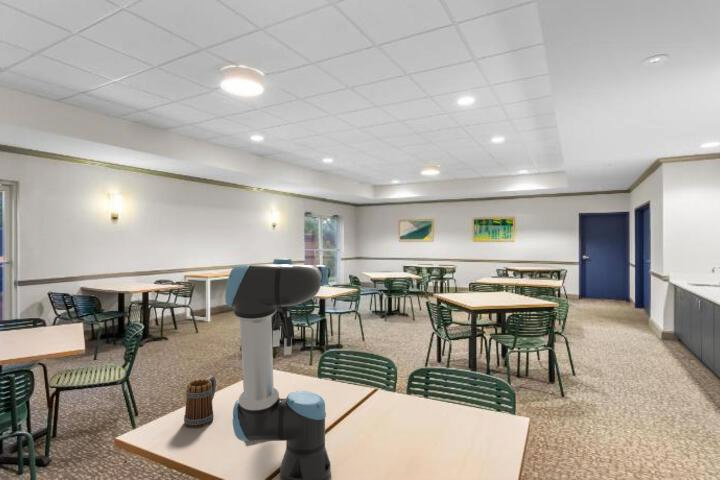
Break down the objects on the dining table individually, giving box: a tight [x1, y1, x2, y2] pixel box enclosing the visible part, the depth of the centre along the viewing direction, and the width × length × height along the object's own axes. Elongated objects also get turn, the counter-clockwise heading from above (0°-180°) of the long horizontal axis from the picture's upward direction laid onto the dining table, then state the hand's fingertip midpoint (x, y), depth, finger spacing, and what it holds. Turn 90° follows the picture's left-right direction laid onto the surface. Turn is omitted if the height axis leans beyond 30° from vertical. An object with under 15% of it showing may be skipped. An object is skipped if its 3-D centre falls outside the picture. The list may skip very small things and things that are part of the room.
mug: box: [183, 376, 217, 429], centre depth 155 cm, size 16×11×15 cm
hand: (281, 350), depth 159 cm, fingers open, 13 cm apart
